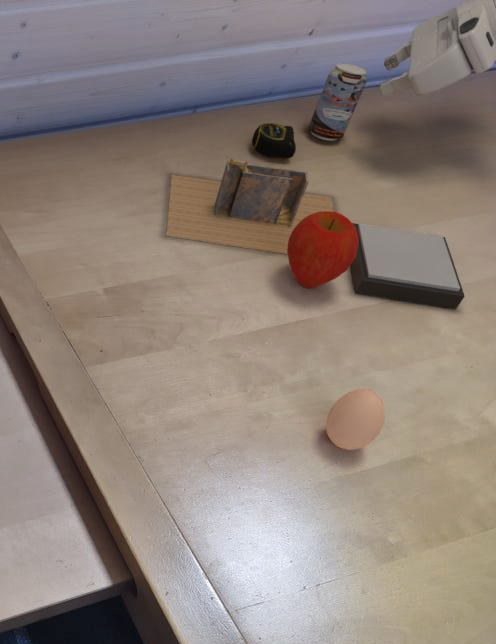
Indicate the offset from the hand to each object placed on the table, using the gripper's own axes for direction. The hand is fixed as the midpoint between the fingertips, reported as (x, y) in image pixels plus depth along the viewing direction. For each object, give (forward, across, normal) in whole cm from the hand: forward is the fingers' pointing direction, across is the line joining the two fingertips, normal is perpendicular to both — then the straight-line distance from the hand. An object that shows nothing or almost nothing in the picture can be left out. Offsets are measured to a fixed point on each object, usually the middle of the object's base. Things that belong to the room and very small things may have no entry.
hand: (383, 77), depth 115 cm
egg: (+5, +69, +11) cm, 70 cm away
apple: (+10, +43, +6) cm, 45 cm away
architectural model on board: (+17, +31, -1) cm, 35 cm away
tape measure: (+17, +10, -1) cm, 20 cm away
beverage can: (+12, +1, +4) cm, 13 cm away
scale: (+2, +35, +14) cm, 37 cm away
